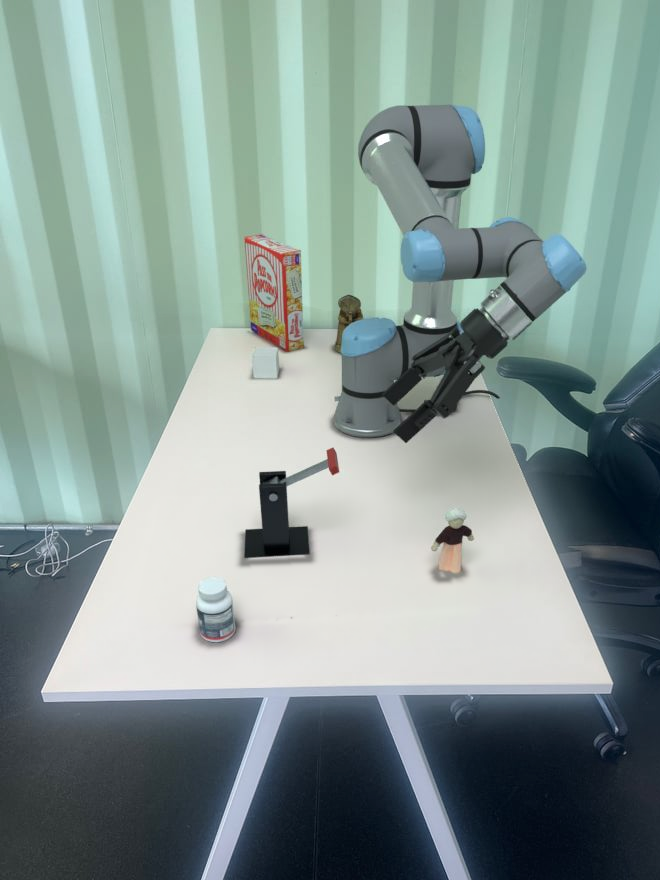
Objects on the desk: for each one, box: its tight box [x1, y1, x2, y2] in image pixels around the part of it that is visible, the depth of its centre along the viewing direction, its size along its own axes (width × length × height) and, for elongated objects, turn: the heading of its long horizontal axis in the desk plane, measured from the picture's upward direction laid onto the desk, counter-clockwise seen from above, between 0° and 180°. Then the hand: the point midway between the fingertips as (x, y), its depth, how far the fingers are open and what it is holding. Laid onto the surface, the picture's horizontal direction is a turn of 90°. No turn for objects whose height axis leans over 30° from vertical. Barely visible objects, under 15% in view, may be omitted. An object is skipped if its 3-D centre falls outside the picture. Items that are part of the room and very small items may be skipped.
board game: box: [243, 233, 305, 353], centre depth 210 cm, size 20×6×27 cm, turn 37°
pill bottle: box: [195, 576, 237, 643], centre depth 111 cm, size 5×5×9 cm
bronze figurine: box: [334, 294, 364, 354], centre depth 206 cm, size 9×14×18 cm, turn 179°
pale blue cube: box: [251, 346, 280, 379], centre depth 195 cm, size 6×6×6 cm
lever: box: [263, 447, 340, 488], centre depth 125 cm, size 13×6×2 cm, turn 97°
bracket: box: [243, 470, 311, 559], centre depth 128 cm, size 11×8×14 cm
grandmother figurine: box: [430, 506, 475, 574], centre depth 124 cm, size 8×4×13 cm, turn 126°
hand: (393, 417), depth 121 cm, fingers open, 13 cm apart
